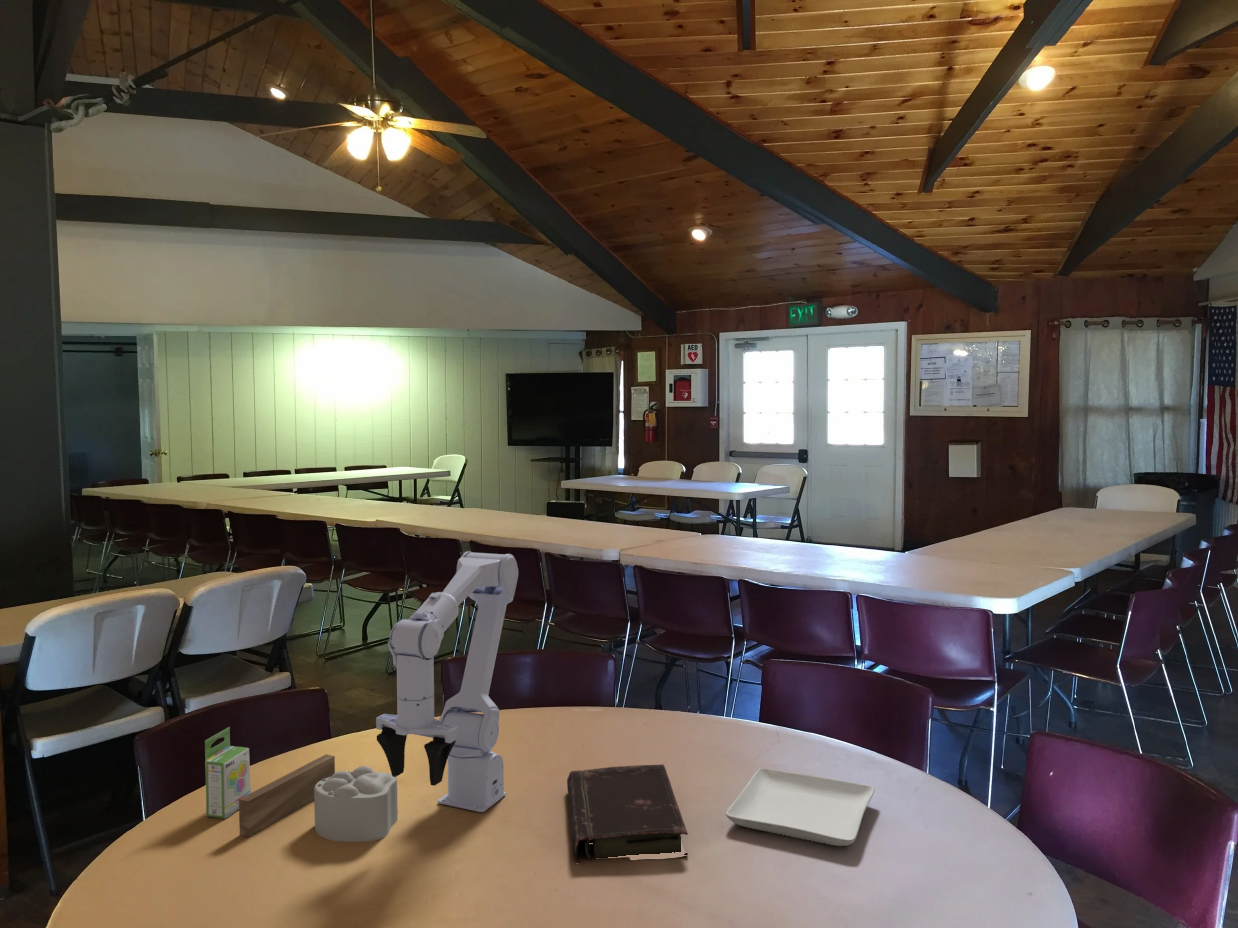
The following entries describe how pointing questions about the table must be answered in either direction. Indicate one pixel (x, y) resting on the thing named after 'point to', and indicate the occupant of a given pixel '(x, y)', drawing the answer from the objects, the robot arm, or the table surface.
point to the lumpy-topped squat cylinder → (356, 805)
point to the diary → (624, 811)
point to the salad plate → (802, 806)
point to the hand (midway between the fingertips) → (416, 778)
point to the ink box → (225, 776)
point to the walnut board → (282, 796)
